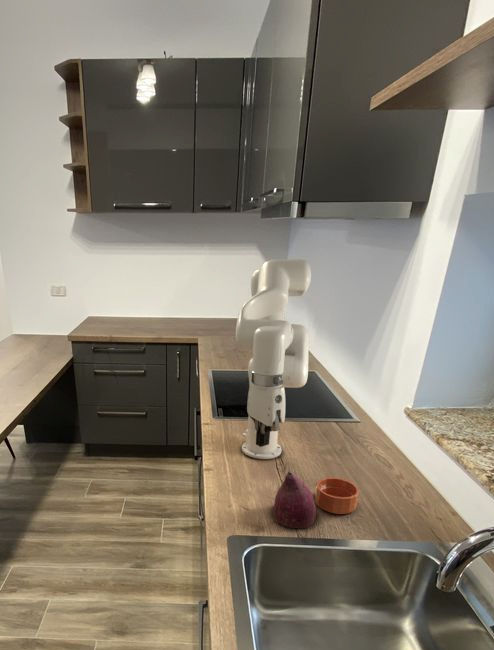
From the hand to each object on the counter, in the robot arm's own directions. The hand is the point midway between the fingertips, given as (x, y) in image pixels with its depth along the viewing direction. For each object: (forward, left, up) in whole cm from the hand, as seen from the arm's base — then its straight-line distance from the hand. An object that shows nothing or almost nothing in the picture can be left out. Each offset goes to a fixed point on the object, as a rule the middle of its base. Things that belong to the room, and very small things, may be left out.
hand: (262, 444), depth 116 cm
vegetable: (+14, 0, -14) cm, 20 cm away
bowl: (+15, +13, -14) cm, 24 cm away
